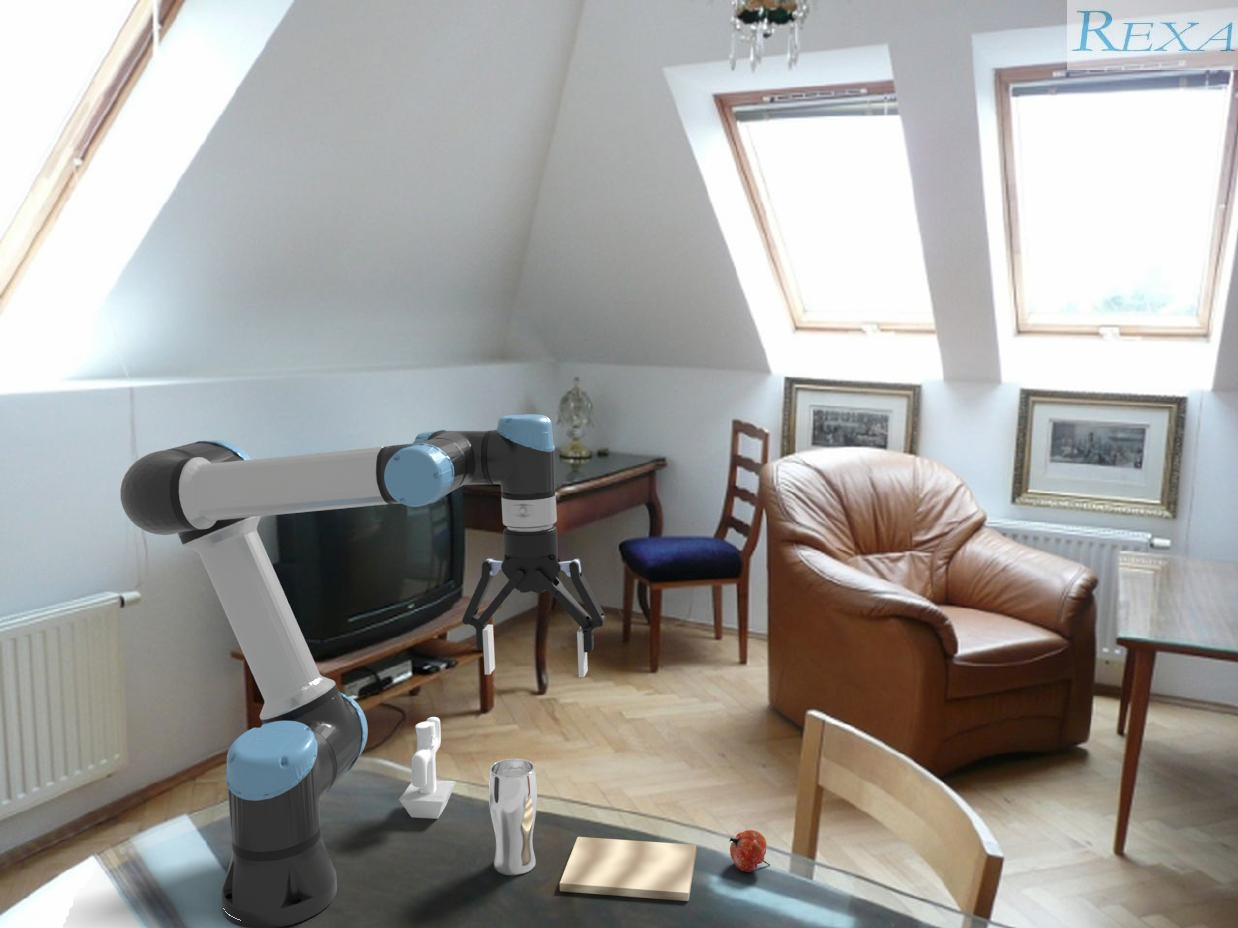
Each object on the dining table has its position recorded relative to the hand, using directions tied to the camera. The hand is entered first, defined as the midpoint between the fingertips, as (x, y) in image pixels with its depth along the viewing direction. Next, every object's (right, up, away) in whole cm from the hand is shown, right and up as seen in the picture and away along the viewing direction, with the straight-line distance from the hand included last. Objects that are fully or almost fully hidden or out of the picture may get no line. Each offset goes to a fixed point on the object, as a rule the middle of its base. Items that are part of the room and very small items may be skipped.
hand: (536, 672), depth 147 cm
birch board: (+13, -29, +2) cm, 32 cm away
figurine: (-19, -27, +21) cm, 39 cm away
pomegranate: (+31, -29, +3) cm, 42 cm away
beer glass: (-3, -29, +5) cm, 30 cm away
